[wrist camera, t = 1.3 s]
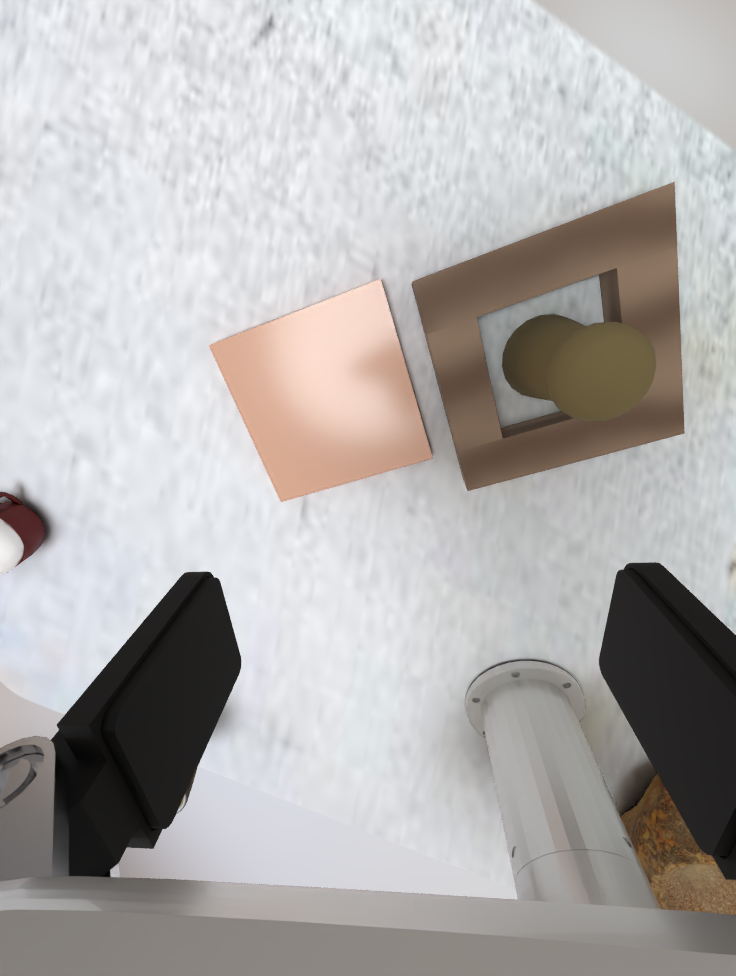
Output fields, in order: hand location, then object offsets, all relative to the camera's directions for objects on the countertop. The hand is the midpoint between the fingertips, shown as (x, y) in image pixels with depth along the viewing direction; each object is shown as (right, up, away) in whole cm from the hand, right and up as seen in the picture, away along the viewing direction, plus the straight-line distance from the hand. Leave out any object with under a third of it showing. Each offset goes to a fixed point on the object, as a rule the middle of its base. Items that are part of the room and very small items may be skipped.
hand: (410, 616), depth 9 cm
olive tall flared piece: (+12, +13, +21) cm, 27 cm away
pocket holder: (+12, +13, +20) cm, 27 cm away
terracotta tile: (-4, +10, +23) cm, 26 cm away
